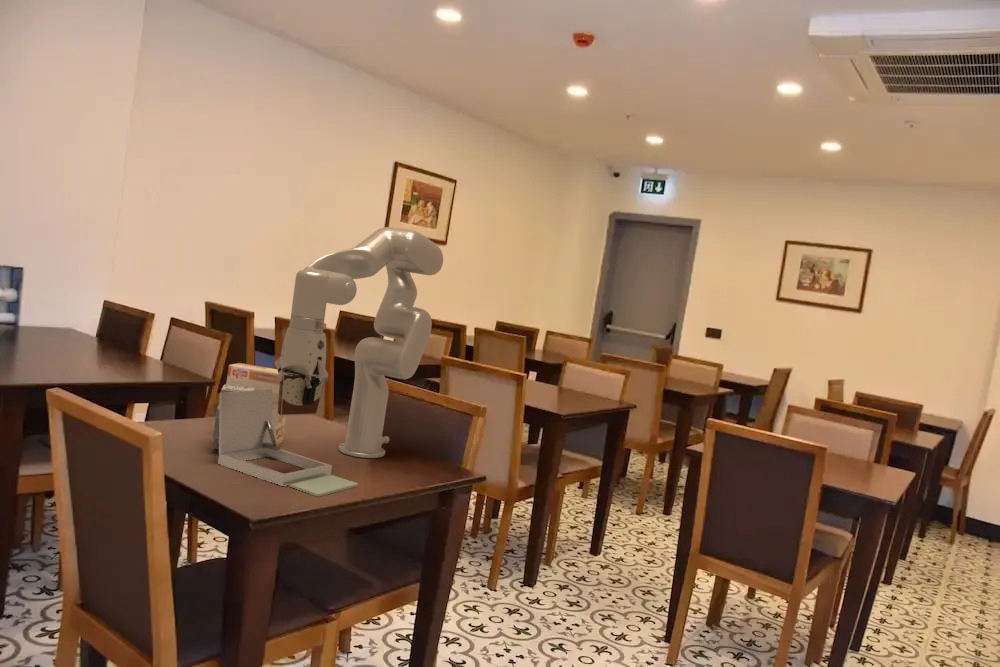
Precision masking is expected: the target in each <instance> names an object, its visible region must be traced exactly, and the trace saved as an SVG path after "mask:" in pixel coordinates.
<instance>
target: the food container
mask: <svg viewBox="0 0 1000 667" xmlns="http://www.w3.org/2000/svg"><path fill="white" fill-rule="evenodd" d="M318 376H319V375H317V377H318ZM277 379H278V380H279V381H280V386H279V401H278V414H279V415H281V416H286V417H287V416H308V415H309V416H312V415H315V416H316V415H317V414H318V412H319V407H320V403H321V400H322V396H323V392H324V388H325V385H326V383H328V382H329V376H328V377H327V378H326V379H325V380H324V381H323V382H322V383H321V384H320V385H319V386H318V387H317V388H316V390H315V397H314V403H313V404H310V405H303V404H302V401H303V393H304V388H307V385H306V379H305V375H302V374H298V373H294V372H291V371H287V370H286V369H285V367H284V368H282V369H281V371H280V372H279V374H278V377H277ZM311 381H312V377H311Z"/></svg>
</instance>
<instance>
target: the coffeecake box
mask: <svg viewBox="0 0 1000 667" xmlns="http://www.w3.org/2000/svg"><path fill="white" fill-rule="evenodd" d="M227 368H228V370H227V377H226V383H225V384H227V385H236V386H238V387H241V386H244V387H253V388H255V390H268V389H272V429H273V433H274V436H275V440H276V444H278V445H280V444H282V443H283V440H284V434H285V433H284V432H285V428H286V425H285V424H286V420H287V415H286V416H281V415H279V414H278V401H279V386H280V381H279V380H278V379H277V377H278V374H279V373H278V370H277V368H270V367H265V366H259V365H254V364H248V363H242V362H237V363H232V364H228V367H227Z"/></svg>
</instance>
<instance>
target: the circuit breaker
mask: <svg viewBox="0 0 1000 667" xmlns="http://www.w3.org/2000/svg"><path fill="white" fill-rule="evenodd" d="M253 390H255V388H253V387H244V386H241V387H238V386H236V385H227V384H226V383H224V385H223V386H222V388H221V390H220V393H223V392H238V391H253ZM212 439H213V445H212V449H213V450H215V449H218V450H217V451H219V405H218V406H217V408H216V413H215V419H214V427H213V434H212Z"/></svg>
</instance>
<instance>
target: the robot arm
mask: <svg viewBox="0 0 1000 667" xmlns="http://www.w3.org/2000/svg"><path fill="white" fill-rule="evenodd" d="M443 263H444V255H443V251H442V249H441V248H440V246H439V245H437V243H435V242H434V241H432V239H431V240H430V239H429V238H428V237H427V236H426V235H425V234H422V233H420V232H418V231H417V230H412V229H405V228H397V227H393V226H391V227H390V226H386V227H385V226H384V227H380V228H379V229H377V230H376V231H374V232H372V234H370V235H368V236H367V237H366V238H365V239H363V240H362V241H360V243H358V244H356V246H354V247H351V248H346V249H342V250H340V251H336V252H333V253H329V254H326V255H323V256H321V257H319V258H316V259H315V260H314V261H313V262H311V263H309V264H308V265H307V266H305V268H304V269H301V270H298V272H296V275H295V280H294V287H293V296H292V303H291V313H290V320H289V326H288V327H287V330H286V333H285V335H284V339H283V342H282V346H281V347H282V348H281V351H280V352H281V353H280V356H279V357H278V358H277V359H276V360H275V361H273V362H274V367H275V369H277V370H278V373H279V372H280V371H281V369H282V368H284V367H285V369H286V370H287V371H291V372H294V373H298V374H302V375H305V379H306V385H307V388H304V393H303V401H302V404H303V405H310V404H313V403H314V397H315V390H316V388H317V387H318V386H319V385H320V384H321V383H322V382H323V381H324V380H325V379H326V378H327V377H328V378H329V373H328V371H327V369H326V360H327V337H326V333H325V332H324V330H325V329H327V323H325V316H326V309H327V304H330V305H336V306H345V305H348V304H349V303H351V302H352V301H353V300H354V299H355V297H356V296H357V290H358V289H357V284H356V281H355V280H358V279H359V280H361V279H366V278H371V277H373V276H375V275H376V274H377V273H379V271H381V270H383V268H384V267H385V268H386V273H387V282H388V283H387V287H386V291H385V293H384V296H383V297H382V300H381V303H380V305H379V308H378V310H377V312H376V315H375V318H374V322H373V328H374V331H375V332H376V333H377V334H379V335H381V336H383V337H386V338H390V339H396V340H399V341H400V340H401V341H403V342H399V341H394V340H390V339H385V338H379V337H374V336H373V337H372V336H371V337H365V338H363V339H361V340H360V341H359V342H358V343H357V345H356V347H355V349H354V380H353V381H354V382H353V390H352V396H351V402H350V410H349V415H348V423H347V427H346V428H347V429H346V436H345V442H341V443H339V445H338V451H339V452H341V453H342V454H344V455H348V456H351V457H356V458H361V459H362V458H363V459H364V458H365V459H379V458H382V457H384V456H385V455H386V449H384V448H383V447H382V445H383V444H388V443H389V442H390V437H389V436H387V435H385V436H383V432H384V424H385V419H386V413H387V412H386V411H387V405H388V399H389V394H390V393H389V386H388V382H387V380H386V377H390V378H394V379H395V378H396V379H400V380H407V379H410V378H412V377H413V376H414V374H416V371H417V369H418V367H419V364H420V362H421V360H422V357H423V354H424V352H425V349H426V347H427V344H428V342H429V338H430V336H431V334H432V333H431V332H432V326H433V324H432V322H433V321H432V317H431V315H430V313H429V312H428V311H427V310H425V309H423V308H419V307H416V306H414V304H415V302H416V299H417V295H418V289H417V286H416V284H415V281H414V279H413V277H412V275H411V273H412V274H418V275H423V276H435V275H436V274H437V273H439V272H440V271H441V270H442V267H443V266H444V265H443ZM317 375H319V376H318V377H317ZM311 377H312V381H311Z"/></svg>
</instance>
